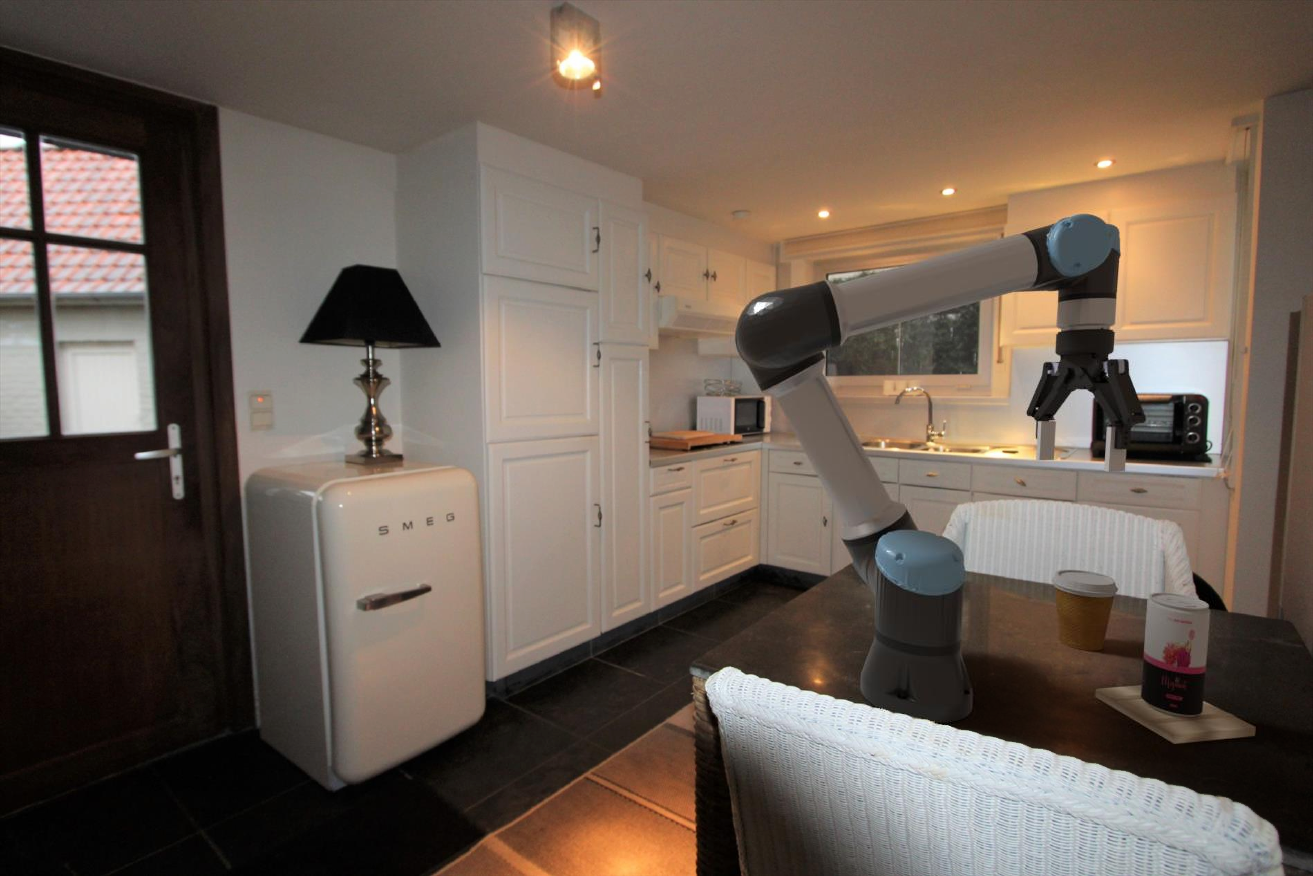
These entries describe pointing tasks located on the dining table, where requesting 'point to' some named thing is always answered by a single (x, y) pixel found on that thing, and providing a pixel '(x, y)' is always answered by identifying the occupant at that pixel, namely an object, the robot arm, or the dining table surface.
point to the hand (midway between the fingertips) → (1077, 465)
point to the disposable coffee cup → (1083, 607)
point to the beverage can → (1175, 654)
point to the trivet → (1176, 718)
